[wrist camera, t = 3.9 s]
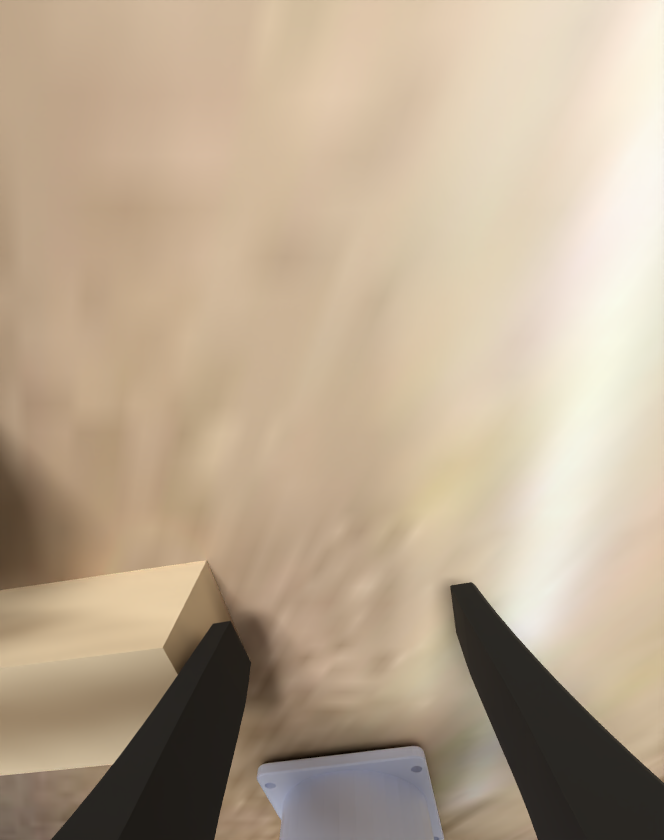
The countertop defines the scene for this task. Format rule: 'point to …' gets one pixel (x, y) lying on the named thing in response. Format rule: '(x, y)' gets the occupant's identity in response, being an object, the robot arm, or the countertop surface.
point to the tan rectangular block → (95, 660)
